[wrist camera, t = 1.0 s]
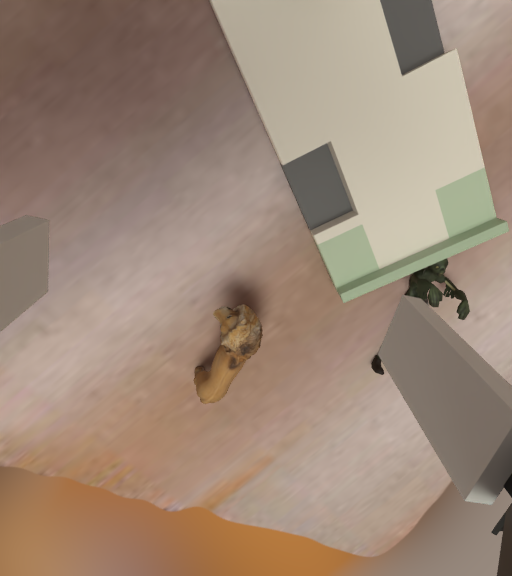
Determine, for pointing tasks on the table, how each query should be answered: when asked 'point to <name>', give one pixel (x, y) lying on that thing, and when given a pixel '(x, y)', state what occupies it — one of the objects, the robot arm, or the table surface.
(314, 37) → the trap board
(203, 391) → the lion figurine
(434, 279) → the zombie figurine
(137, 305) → the table surface
